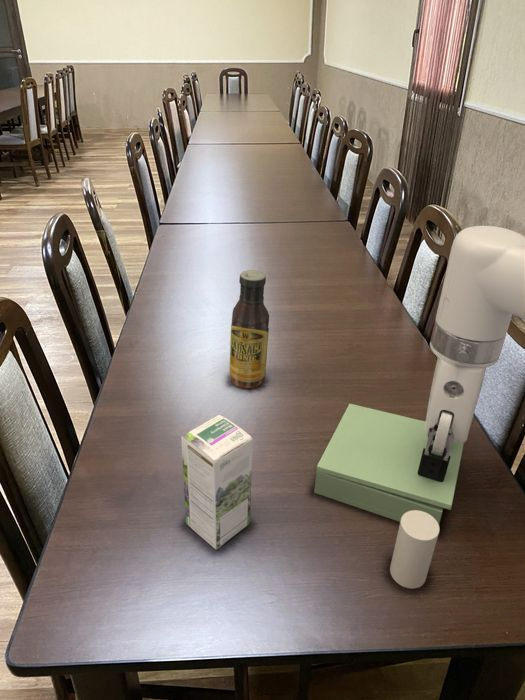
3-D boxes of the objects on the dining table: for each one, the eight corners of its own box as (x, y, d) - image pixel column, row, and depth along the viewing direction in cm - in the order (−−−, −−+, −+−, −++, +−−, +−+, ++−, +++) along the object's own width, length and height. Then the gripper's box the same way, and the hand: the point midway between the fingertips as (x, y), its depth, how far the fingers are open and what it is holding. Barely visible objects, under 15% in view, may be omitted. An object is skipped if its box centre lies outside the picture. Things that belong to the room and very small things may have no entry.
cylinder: (426, 563, 62) (439, 514, 58) (425, 593, 59) (439, 544, 55) (391, 554, 63) (402, 506, 59) (388, 583, 60) (399, 534, 55)
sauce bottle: (224, 387, 91) (223, 279, 81) (235, 368, 96) (234, 264, 86) (262, 393, 90) (265, 284, 79) (270, 373, 95) (274, 269, 85)
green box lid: (465, 435, 74) (471, 407, 72) (450, 510, 63) (457, 479, 60) (349, 407, 80) (351, 380, 78) (316, 470, 69) (317, 441, 66)
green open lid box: (452, 458, 77) (458, 437, 75) (436, 534, 66) (442, 512, 64) (346, 428, 83) (349, 407, 81) (314, 492, 71) (316, 471, 69)
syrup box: (219, 499, 70) (217, 410, 62) (252, 525, 66) (253, 434, 59) (185, 524, 66) (178, 433, 58) (217, 553, 63) (214, 460, 55)
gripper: (496, 388, 52) (456, 515, 61) (506, 314, 66) (472, 427, 75) (418, 369, 54) (391, 494, 64) (443, 301, 68) (418, 412, 77)
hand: (435, 457), depth 69 cm, fingers open, 6 cm apart
